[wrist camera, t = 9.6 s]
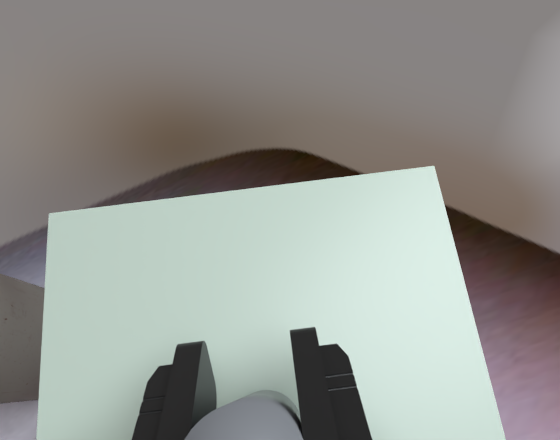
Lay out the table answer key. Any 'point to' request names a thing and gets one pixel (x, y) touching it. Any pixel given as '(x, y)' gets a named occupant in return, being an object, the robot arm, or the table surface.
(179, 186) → the table surface
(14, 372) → the thermos bottle
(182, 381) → the robot arm
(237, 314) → the tub lid
